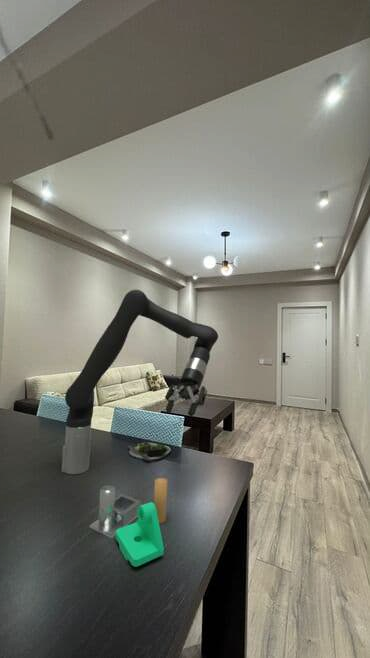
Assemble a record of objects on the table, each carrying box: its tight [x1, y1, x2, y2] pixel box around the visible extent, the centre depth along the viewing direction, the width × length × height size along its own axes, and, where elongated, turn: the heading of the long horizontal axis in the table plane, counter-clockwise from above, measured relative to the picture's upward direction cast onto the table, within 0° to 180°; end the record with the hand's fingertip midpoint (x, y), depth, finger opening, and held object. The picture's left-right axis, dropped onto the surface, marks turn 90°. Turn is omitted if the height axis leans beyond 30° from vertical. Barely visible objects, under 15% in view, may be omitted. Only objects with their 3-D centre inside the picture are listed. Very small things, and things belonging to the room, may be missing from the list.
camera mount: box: [115, 501, 165, 567], centre depth 72 cm, size 12×8×10 cm, turn 35°
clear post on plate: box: [89, 484, 142, 539], centre depth 82 cm, size 12×8×11 cm, turn 151°
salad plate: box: [127, 442, 172, 462], centre depth 130 cm, size 19×18×5 cm
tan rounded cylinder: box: [153, 477, 168, 524], centre depth 83 cm, size 4×4×11 cm
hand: (178, 413), depth 95 cm, fingers open, 8 cm apart
